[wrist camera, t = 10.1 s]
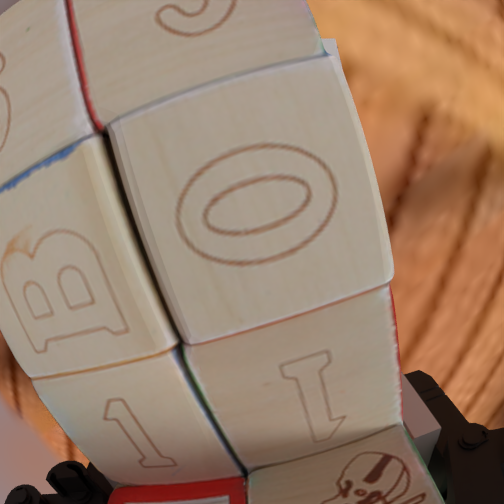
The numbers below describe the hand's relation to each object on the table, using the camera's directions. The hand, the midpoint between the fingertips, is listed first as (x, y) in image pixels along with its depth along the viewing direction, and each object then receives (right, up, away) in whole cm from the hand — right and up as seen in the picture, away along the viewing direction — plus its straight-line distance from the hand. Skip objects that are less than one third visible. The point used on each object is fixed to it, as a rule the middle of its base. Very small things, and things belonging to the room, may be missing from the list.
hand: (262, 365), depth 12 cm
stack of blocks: (0, +1, +2) cm, 2 cm away
